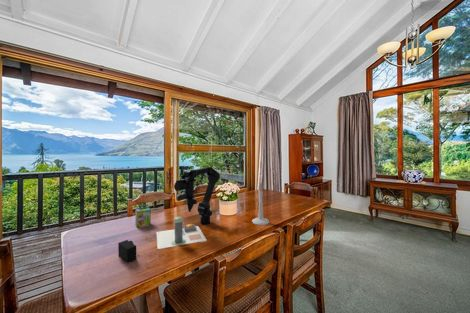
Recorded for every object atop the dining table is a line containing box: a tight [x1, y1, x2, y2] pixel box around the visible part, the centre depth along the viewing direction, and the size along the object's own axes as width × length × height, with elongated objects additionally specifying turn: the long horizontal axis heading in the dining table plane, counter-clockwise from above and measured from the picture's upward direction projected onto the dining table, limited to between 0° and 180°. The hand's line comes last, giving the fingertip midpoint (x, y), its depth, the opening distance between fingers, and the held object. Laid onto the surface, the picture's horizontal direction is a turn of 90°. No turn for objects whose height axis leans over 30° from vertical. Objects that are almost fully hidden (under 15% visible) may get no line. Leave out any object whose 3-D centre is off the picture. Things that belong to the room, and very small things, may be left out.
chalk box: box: [134, 203, 152, 229], centre depth 140 cm, size 9×9×15 cm
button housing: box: [183, 223, 196, 232], centre depth 131 cm, size 7×7×2 cm
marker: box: [173, 216, 184, 244], centre depth 113 cm, size 5×5×14 cm
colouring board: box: [156, 225, 207, 250], centre depth 121 cm, size 27×24×1 cm
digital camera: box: [117, 239, 137, 264], centre depth 98 cm, size 10×5×7 cm, turn 51°
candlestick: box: [251, 182, 270, 226], centre depth 147 cm, size 13×13×30 cm
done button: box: [185, 223, 193, 228], centre depth 131 cm, size 4×4×2 cm
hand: (189, 211), depth 131 cm, fingers closed
